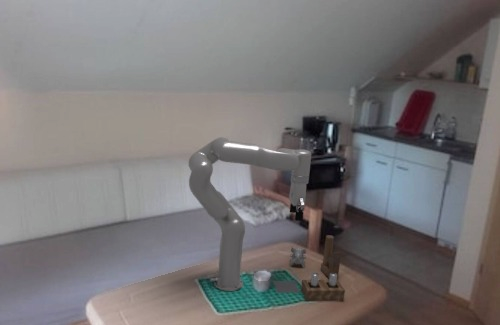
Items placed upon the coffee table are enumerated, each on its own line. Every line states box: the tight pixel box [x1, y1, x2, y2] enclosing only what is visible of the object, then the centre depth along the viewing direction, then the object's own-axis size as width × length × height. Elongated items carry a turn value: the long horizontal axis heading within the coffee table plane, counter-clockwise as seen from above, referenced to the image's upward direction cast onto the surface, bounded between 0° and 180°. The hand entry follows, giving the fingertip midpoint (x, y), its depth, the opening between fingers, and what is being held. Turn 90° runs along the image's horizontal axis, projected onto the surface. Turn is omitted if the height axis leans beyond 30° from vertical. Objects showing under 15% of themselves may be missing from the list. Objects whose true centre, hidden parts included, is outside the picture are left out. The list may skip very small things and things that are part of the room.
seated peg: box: [328, 273, 337, 288], centre depth 188 cm, size 3×3×10 cm
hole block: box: [300, 279, 346, 302], centre depth 188 cm, size 16×9×5 cm, turn 98°
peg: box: [310, 272, 320, 288], centre depth 187 cm, size 3×3×10 cm
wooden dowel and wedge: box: [320, 234, 342, 281], centre depth 205 cm, size 4×11×18 cm, turn 18°
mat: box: [272, 280, 301, 294], centre depth 193 cm, size 10×10×1 cm
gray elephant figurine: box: [288, 246, 307, 269], centre depth 216 cm, size 9×12×8 cm
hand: (295, 216), depth 193 cm, fingers open, 9 cm apart
